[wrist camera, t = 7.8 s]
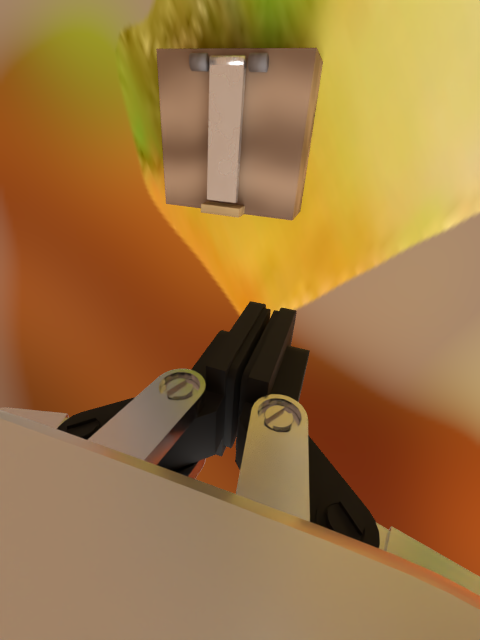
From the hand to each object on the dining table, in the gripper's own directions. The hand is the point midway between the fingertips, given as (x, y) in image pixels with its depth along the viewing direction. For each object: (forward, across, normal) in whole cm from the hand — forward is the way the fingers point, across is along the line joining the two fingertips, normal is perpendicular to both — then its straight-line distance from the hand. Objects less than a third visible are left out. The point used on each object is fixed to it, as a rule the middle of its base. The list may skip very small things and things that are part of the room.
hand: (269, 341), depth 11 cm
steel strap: (+22, +10, -6) cm, 25 cm away
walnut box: (+27, +10, -6) cm, 30 cm away
